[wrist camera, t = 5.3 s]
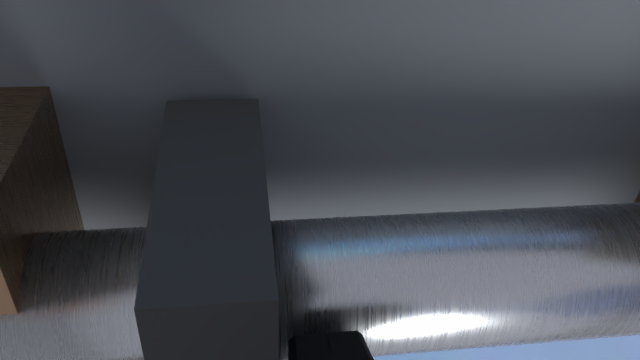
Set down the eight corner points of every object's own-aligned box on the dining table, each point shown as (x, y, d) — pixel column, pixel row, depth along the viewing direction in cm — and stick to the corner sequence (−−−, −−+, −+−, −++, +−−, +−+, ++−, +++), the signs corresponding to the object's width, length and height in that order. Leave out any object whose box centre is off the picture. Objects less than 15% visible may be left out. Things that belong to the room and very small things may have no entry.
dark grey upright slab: (258, 99, 13) (278, 299, 8) (261, 287, 17) (276, 504, 12) (166, 100, 13) (133, 309, 8) (188, 291, 16) (175, 516, 12)
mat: (847, -88, 13) (859, -85, 13) (627, 327, 21) (631, 333, 21) (-131, -112, 11) (-139, -109, 10) (46, 373, 19) (44, 381, 18)
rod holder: (756, 73, 15) (948, 192, 11) (660, 256, 19) (778, 394, 15) (-40, 87, 13) (-163, 248, 9) (31, 296, 16) (-30, 475, 12)
